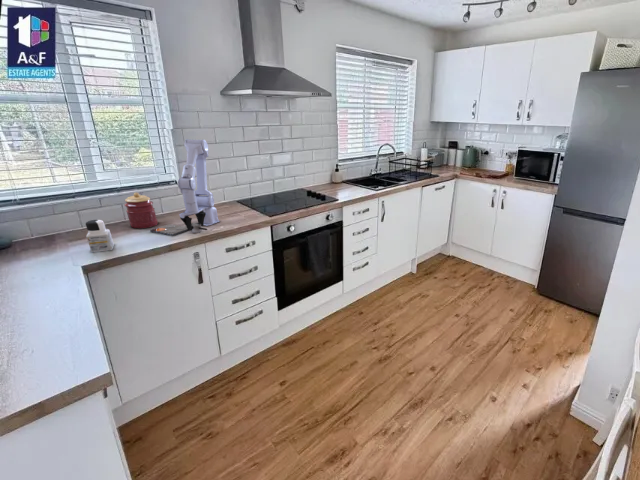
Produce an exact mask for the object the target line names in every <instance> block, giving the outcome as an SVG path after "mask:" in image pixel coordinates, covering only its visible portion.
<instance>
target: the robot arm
mask: <svg viewBox="0 0 640 480" xmlns="http://www.w3.org/2000/svg"><path fill="white" fill-rule="evenodd" d="M184 140H185V141H184V142H183V143H184V149H185V151H186V164H184V165H183V167H182V172H181V177H180V178H179V179H178V180H177V186H178V189H179V190H180V194H181V195H182V198H183V204H184V209H185V210H184V211H183V212H182V213H179V218H180V220H181V222H183V224H185V227H187V229H188V230H189V231H190V232H191V230H192V225H191V223H192V219H193V218H192V217H190V216H193V215H195V217H196V219H197V223H201V228H204V226H205V227H209V226H212V225H214V224H218V223H220V222H221V221H220V220H219V215H218V210H217V208H216V207H215V198H214V194H213V193H212V192H211V191H210V190H208V175H207V158H209V153H210V152H209V144H208V142H207V141H206V139H203V138H202V139H196V138H195V139H193V138H192V139H191V138H186V139H184Z"/></svg>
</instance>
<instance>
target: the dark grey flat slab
mask: <svg viewBox="0 0 640 480" xmlns="http://www.w3.org/2000/svg"><path fill="white" fill-rule="evenodd" d="M188 231H190V230H188V229H187V227H186V226H182V225H177V224H171V223H168V224H165V225H161V226H159V227H156V228H153V229H150V233H154V234H159V235H165V236H172V237H174V236H177V235H180V234H182V233H183V234H184V233H185V232H188Z"/></svg>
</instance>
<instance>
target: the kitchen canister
mask: <svg viewBox="0 0 640 480" xmlns="http://www.w3.org/2000/svg"><path fill="white" fill-rule="evenodd" d="M124 201H125V203H124V207H125V208H126V211H125V213H126V214H127V218H128V221H129V222H128V223H129V225H130V227H131V228H133V229H147V228H152V227H155V226H157V225H158V223H159V221H158V218H157V215H156V214H157V213H156V211H155V210H156V209H155V207H154V206H153V204H154V202H153V200H151V198H150V197H149V196H147V195H144V194H143V195H142V194H140V193H139V192H136V191H135V192H134V193H133V195H131V196H128V197H127V198H125V200H124Z"/></svg>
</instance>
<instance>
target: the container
mask: <svg viewBox="0 0 640 480" xmlns="http://www.w3.org/2000/svg"><path fill="white" fill-rule="evenodd" d="M85 226H86V230H87V234H86V236H85V238H86V241H87V243H88V247H89V249H90V252H91V253H96V252H97V253H99V252H106V251H107V252H108V251H113V248H114V246H115V243H114V239H113V236H112V234H111V231H110V229H109V228H107V227H106V225H105V221H103V220H102V219H90V220H88V221H86V222H85Z"/></svg>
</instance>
